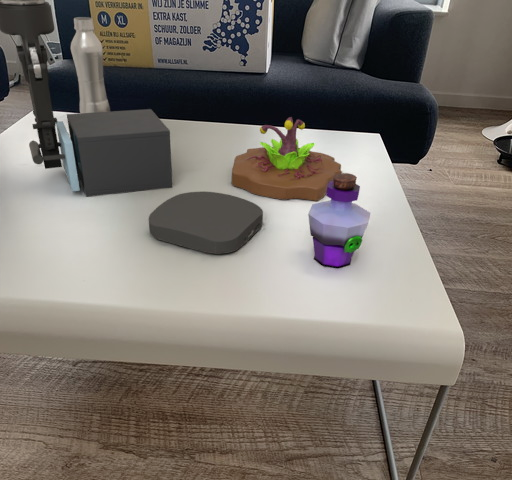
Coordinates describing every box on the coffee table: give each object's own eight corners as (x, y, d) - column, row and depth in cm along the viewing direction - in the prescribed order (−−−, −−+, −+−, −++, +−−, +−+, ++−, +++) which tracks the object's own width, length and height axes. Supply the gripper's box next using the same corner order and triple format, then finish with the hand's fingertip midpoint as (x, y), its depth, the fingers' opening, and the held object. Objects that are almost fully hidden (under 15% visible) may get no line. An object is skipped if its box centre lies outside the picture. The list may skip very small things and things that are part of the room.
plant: (217, 191, 94) (217, 123, 87) (245, 154, 109) (247, 94, 102) (332, 207, 91) (342, 139, 84) (345, 167, 106) (354, 106, 99)
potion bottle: (344, 281, 72) (359, 195, 65) (290, 259, 76) (298, 176, 69) (373, 257, 78) (390, 175, 70) (322, 238, 82) (333, 159, 74)
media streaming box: (139, 237, 79) (137, 217, 77) (189, 201, 90) (188, 183, 88) (229, 261, 75) (229, 241, 73) (270, 220, 86) (271, 202, 84)
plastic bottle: (115, 119, 123) (104, 17, 110) (105, 128, 117) (92, 22, 105) (88, 117, 123) (74, 15, 111) (76, 125, 118) (60, 19, 106)
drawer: (40, 195, 87) (30, 145, 82) (33, 169, 95) (24, 123, 90) (153, 182, 93) (150, 136, 88) (138, 159, 101) (134, 116, 96)
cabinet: (86, 196, 89) (77, 137, 83) (75, 169, 98) (66, 114, 92) (172, 187, 94) (169, 130, 88) (154, 162, 103) (151, 108, 97)
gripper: (55, 6, 73) (82, 178, 87) (45, -6, 82) (70, 151, 97) (-6, 7, 70) (32, 183, 85) (-9, -6, 80) (26, 155, 94)
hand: (53, 166), depth 91 cm, fingers closed
